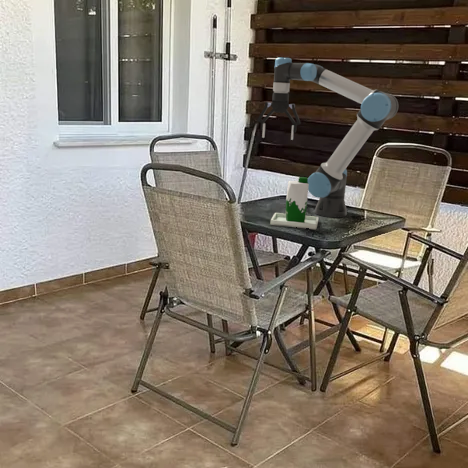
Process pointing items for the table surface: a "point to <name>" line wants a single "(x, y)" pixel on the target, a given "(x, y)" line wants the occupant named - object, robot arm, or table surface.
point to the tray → (280, 220)
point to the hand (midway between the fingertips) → (277, 138)
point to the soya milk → (297, 200)
